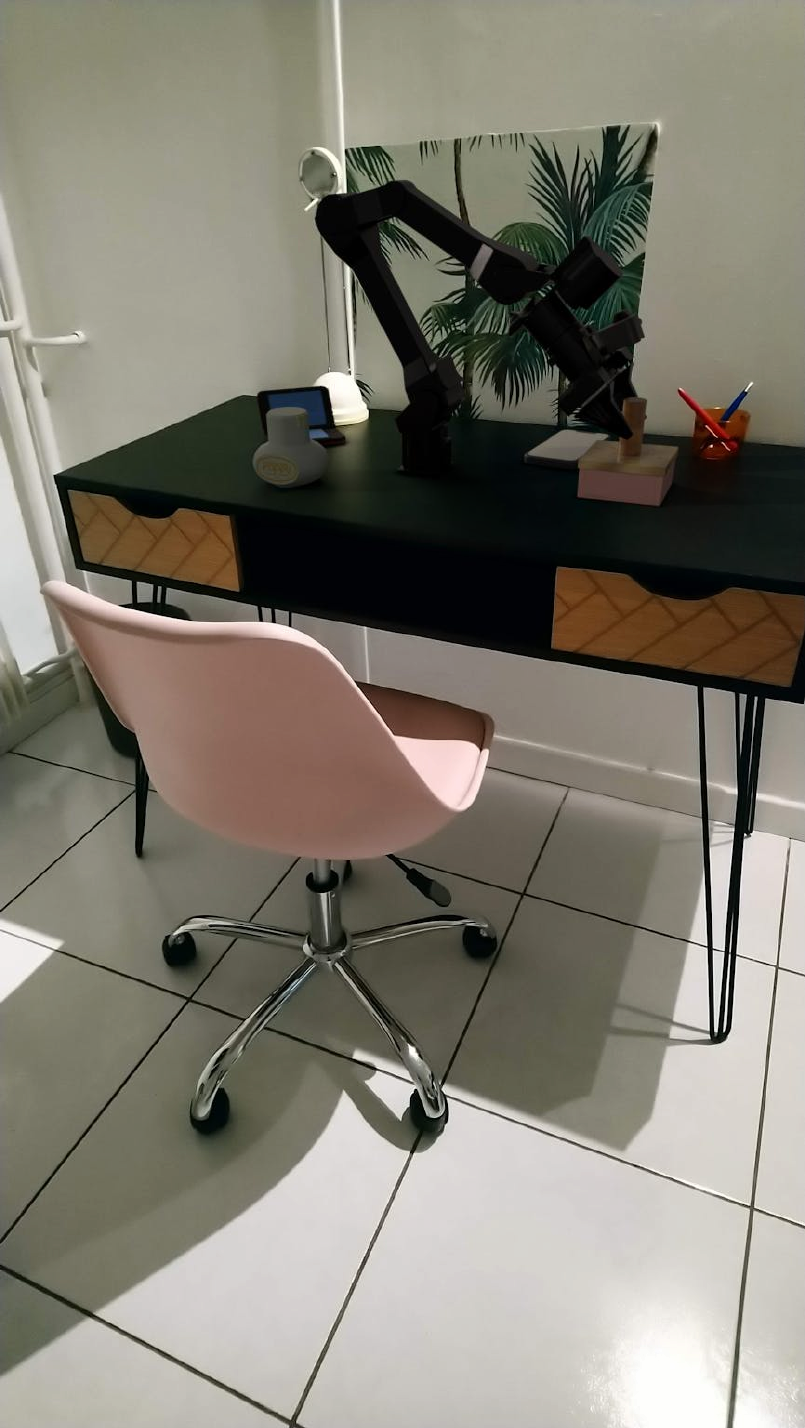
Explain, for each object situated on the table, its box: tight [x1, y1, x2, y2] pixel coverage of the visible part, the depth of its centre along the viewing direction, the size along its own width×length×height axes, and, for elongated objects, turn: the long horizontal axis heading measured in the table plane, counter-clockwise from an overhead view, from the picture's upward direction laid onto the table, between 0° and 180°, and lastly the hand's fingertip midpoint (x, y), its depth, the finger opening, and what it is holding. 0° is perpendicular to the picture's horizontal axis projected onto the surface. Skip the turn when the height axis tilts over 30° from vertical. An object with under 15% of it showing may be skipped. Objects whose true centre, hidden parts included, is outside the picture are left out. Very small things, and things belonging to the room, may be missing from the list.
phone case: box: [524, 429, 612, 471], centre depth 139 cm, size 9×2×16 cm
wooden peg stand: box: [577, 396, 679, 477], centre depth 119 cm, size 11×10×8 cm
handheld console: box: [256, 385, 346, 446], centre depth 148 cm, size 12×11×7 cm
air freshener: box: [252, 407, 330, 489], centre depth 128 cm, size 11×8×10 cm
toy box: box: [577, 459, 676, 507], centre depth 122 cm, size 11×10×4 cm
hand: (637, 428), depth 119 cm, fingers open, 9 cm apart
